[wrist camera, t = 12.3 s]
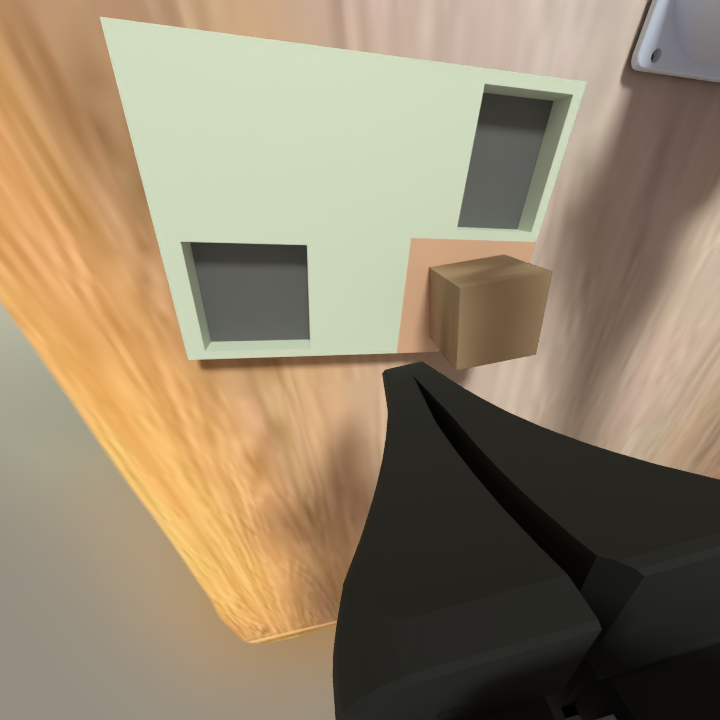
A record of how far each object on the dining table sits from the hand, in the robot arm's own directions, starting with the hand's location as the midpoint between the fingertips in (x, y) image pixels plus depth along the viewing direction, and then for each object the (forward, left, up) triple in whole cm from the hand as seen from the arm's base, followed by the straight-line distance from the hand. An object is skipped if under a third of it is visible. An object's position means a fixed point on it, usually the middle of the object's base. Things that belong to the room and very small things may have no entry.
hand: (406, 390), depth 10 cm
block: (-6, 0, -9) cm, 11 cm away
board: (0, -4, -10) cm, 11 cm away
